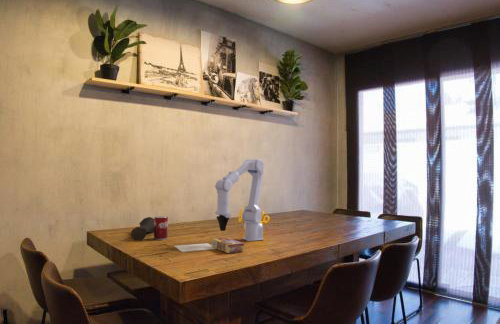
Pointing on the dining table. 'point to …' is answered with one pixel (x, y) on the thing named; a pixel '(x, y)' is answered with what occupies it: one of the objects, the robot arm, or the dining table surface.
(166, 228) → the soda can
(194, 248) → the mat
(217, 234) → the dining table surface
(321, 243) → the dining table surface
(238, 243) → the candy box
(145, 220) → the dark grey dumbbell
